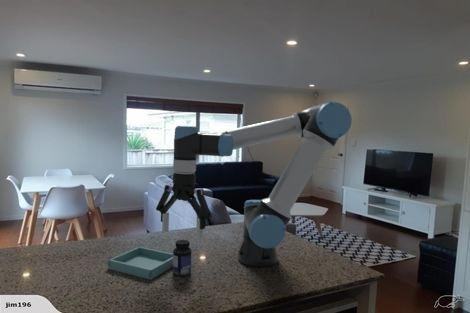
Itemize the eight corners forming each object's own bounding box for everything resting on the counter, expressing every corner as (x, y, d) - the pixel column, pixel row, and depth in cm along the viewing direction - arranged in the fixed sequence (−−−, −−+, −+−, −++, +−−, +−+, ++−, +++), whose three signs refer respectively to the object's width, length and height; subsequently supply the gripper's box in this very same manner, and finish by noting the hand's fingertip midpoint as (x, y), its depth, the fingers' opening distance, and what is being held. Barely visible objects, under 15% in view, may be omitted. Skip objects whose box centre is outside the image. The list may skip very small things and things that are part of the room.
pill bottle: (192, 270, 120) (193, 239, 119) (188, 277, 113) (189, 245, 113) (175, 269, 120) (176, 238, 119) (170, 276, 114) (171, 244, 113)
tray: (178, 263, 126) (178, 254, 125) (150, 279, 111) (150, 270, 111) (139, 254, 133) (139, 246, 133) (108, 268, 118) (108, 260, 118)
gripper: (223, 174, 113) (220, 238, 114) (160, 168, 123) (158, 226, 124) (212, 177, 106) (209, 244, 107) (146, 169, 116) (144, 231, 117)
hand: (182, 235), depth 116 cm, fingers open, 13 cm apart
